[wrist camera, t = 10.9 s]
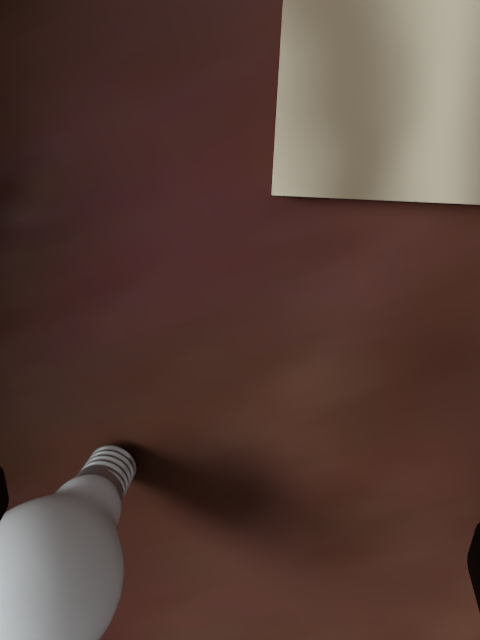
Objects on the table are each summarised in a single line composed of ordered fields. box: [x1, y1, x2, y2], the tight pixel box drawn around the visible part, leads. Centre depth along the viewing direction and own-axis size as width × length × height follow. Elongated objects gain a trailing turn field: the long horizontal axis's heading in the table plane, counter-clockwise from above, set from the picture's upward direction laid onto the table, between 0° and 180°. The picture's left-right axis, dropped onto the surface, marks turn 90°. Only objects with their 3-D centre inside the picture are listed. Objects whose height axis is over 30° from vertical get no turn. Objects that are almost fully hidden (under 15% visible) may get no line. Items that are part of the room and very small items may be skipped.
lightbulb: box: [0, 445, 136, 640], centre depth 19 cm, size 6×6×11 cm
